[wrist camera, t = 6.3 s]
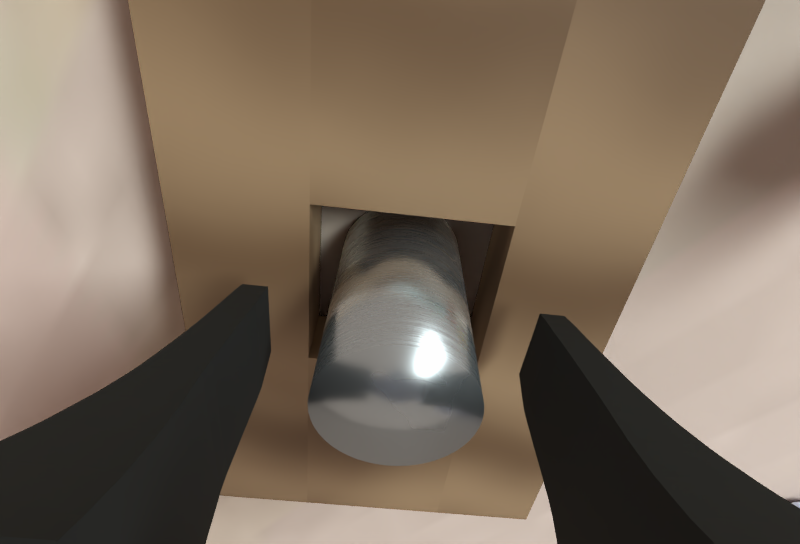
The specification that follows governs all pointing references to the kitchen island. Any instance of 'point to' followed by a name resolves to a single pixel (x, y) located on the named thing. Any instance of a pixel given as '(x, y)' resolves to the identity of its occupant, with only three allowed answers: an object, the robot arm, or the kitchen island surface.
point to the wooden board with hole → (423, 186)
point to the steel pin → (397, 346)
